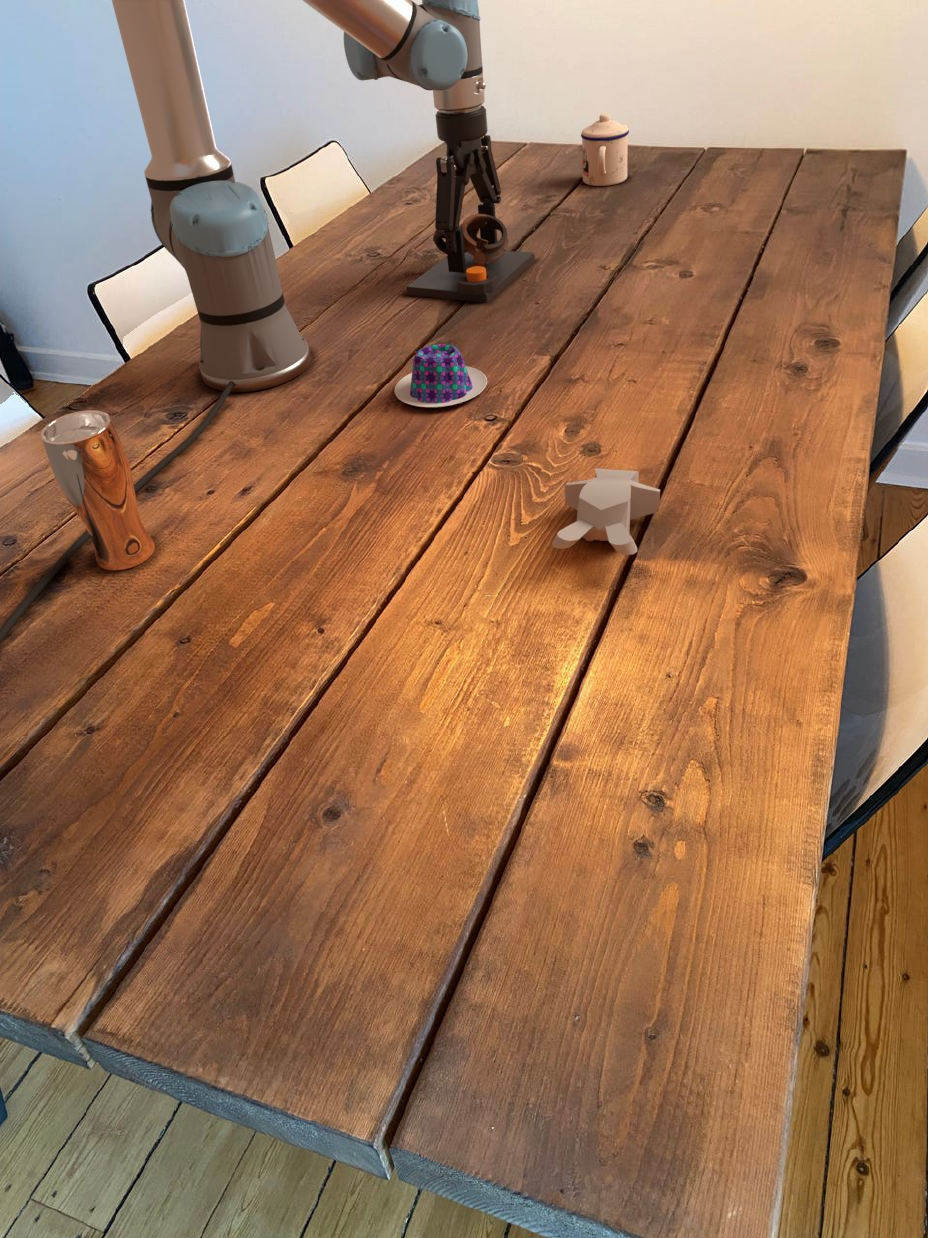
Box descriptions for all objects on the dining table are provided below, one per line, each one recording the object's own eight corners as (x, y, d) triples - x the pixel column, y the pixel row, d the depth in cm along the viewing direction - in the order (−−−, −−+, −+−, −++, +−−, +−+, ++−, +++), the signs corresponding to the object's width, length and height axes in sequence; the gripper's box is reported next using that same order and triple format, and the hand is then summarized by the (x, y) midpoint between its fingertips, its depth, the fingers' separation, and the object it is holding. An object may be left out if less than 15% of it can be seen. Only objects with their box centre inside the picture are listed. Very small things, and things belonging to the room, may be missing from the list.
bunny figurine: (667, 459, 96) (645, 527, 84) (664, 504, 99) (643, 577, 87) (574, 453, 99) (541, 518, 87) (574, 497, 101) (542, 567, 89)
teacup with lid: (584, 174, 190) (583, 110, 183) (630, 172, 188) (630, 107, 181) (577, 192, 182) (576, 125, 174) (625, 190, 180) (626, 122, 172)
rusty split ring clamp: (502, 250, 158) (512, 211, 150) (501, 294, 154) (511, 256, 146) (430, 239, 156) (437, 199, 149) (428, 283, 152) (435, 245, 145)
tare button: (481, 284, 142) (480, 273, 141) (463, 282, 143) (462, 272, 142) (489, 276, 144) (489, 266, 143) (472, 275, 145) (471, 265, 144)
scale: (487, 305, 142) (485, 285, 140) (404, 297, 148) (401, 278, 146) (537, 261, 155) (536, 242, 153) (459, 255, 161) (457, 237, 159)
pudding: (497, 371, 125) (494, 332, 121) (474, 414, 116) (469, 374, 113) (411, 368, 128) (406, 331, 125) (382, 410, 119) (375, 371, 116)
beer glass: (134, 527, 103) (86, 402, 94) (172, 547, 100) (126, 419, 90) (79, 560, 100) (23, 433, 90) (117, 581, 96) (63, 451, 86)
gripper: (445, 128, 130) (461, 286, 144) (516, 88, 145) (524, 235, 159) (398, 127, 133) (418, 283, 147) (472, 89, 148) (484, 232, 162)
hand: (473, 258), depth 153 cm, fingers open, 11 cm apart
